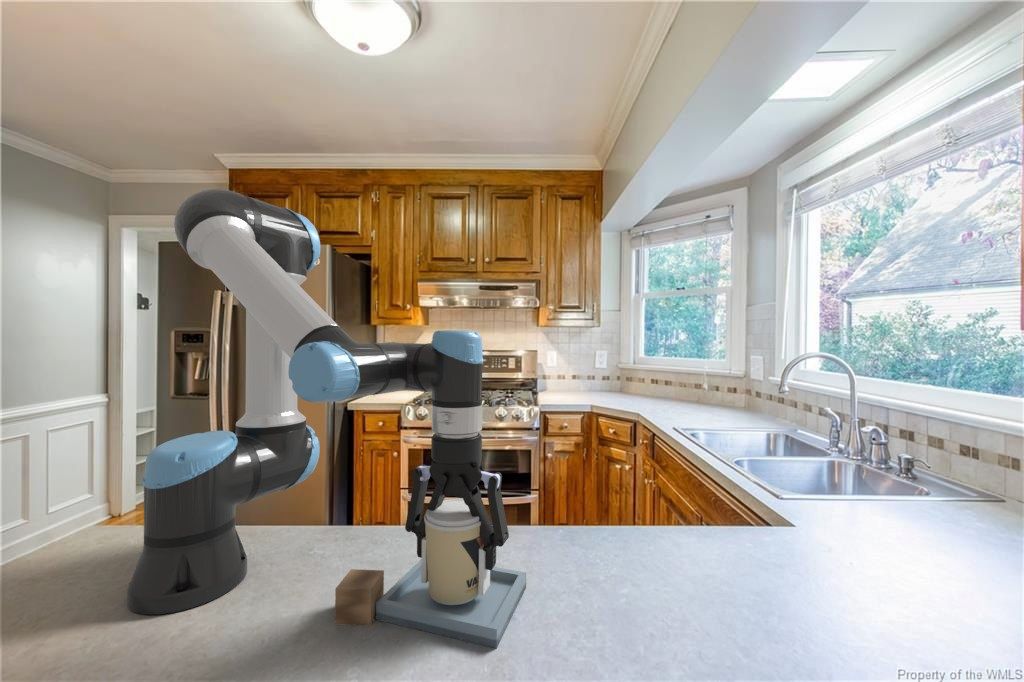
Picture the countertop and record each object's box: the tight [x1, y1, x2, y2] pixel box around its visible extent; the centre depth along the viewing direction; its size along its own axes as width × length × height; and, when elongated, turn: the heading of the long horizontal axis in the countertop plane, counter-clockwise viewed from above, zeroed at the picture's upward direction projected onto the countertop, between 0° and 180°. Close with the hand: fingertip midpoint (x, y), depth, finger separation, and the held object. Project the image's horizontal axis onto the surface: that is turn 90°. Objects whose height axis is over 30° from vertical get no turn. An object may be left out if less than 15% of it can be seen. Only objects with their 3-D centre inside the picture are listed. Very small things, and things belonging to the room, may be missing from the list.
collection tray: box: [375, 558, 527, 649], centre depth 63 cm, size 18×14×2 cm
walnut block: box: [334, 568, 385, 627], centre depth 61 cm, size 5×5×5 cm
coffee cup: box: [423, 498, 483, 605], centre depth 63 cm, size 9×9×12 cm
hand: (455, 583), depth 63 cm, fingers closed on coffee cup, 9 cm apart
